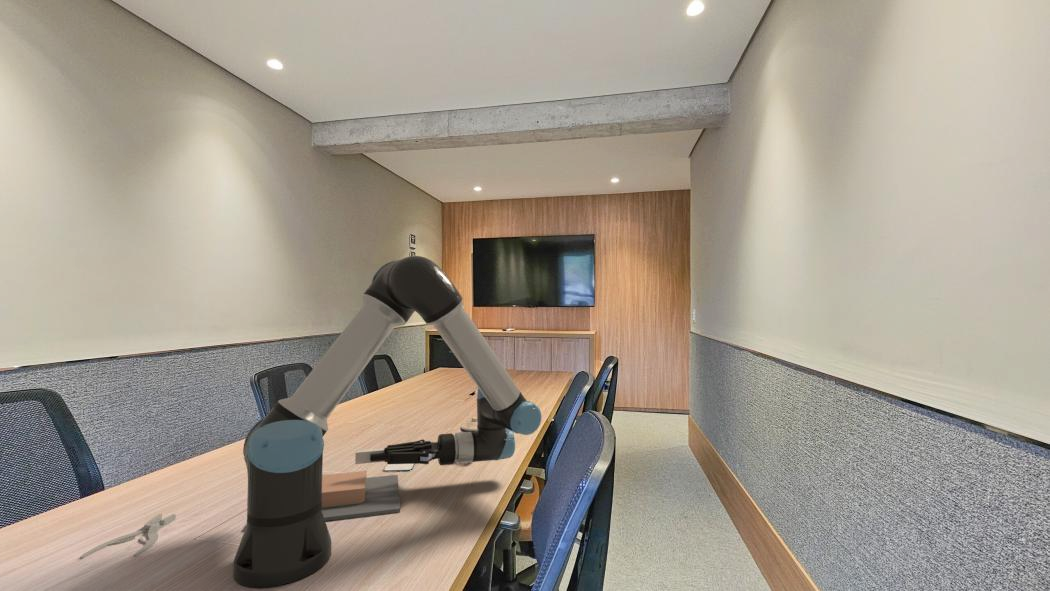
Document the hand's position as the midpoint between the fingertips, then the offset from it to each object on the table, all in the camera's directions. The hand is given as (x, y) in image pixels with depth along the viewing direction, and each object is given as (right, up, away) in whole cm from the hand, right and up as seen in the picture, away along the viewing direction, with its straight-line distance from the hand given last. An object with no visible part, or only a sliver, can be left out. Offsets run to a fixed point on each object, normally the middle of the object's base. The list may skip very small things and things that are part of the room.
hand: (355, 457), depth 108 cm
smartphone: (+4, -11, +25) cm, 28 cm away
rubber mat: (-5, -9, -2) cm, 11 cm away
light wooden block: (+2, -7, 0) cm, 7 cm away
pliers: (-35, -9, -20) cm, 41 cm away
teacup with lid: (+25, -11, +30) cm, 40 cm away
